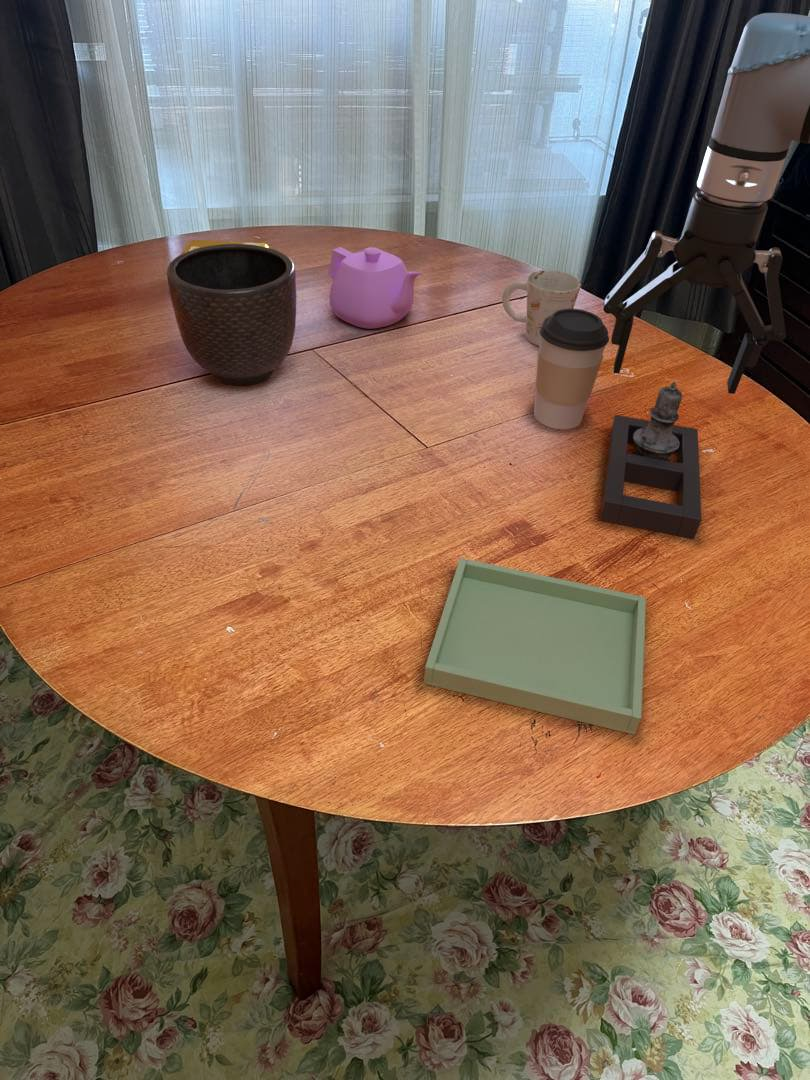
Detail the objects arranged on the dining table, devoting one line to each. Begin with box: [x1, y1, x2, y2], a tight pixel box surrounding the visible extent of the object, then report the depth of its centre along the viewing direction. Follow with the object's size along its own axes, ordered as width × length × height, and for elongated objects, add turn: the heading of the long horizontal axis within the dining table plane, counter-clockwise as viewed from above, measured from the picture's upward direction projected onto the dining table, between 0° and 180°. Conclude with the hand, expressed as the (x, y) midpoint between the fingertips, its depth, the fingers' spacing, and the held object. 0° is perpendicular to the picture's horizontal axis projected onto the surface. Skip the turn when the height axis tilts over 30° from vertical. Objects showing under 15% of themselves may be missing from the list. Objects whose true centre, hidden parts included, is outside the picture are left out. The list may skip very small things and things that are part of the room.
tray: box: [423, 557, 647, 736], centre depth 75 cm, size 20×16×2 cm
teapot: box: [328, 246, 422, 330], centre depth 127 cm, size 13×20×11 cm
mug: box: [501, 269, 582, 347], centre depth 124 cm, size 8×13×10 cm, turn 61°
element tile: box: [181, 239, 270, 254], centre depth 137 cm, size 15×15×5 cm
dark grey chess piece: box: [631, 381, 683, 461], centre depth 97 cm, size 6×6×12 cm
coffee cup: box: [533, 308, 610, 430], centre depth 103 cm, size 9×9×15 cm
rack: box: [599, 414, 702, 540], centre depth 96 cm, size 11×20×3 cm, turn 165°
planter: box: [166, 244, 297, 387], centre depth 109 cm, size 17×17×16 cm
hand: (673, 378), depth 93 cm, fingers open, 13 cm apart
